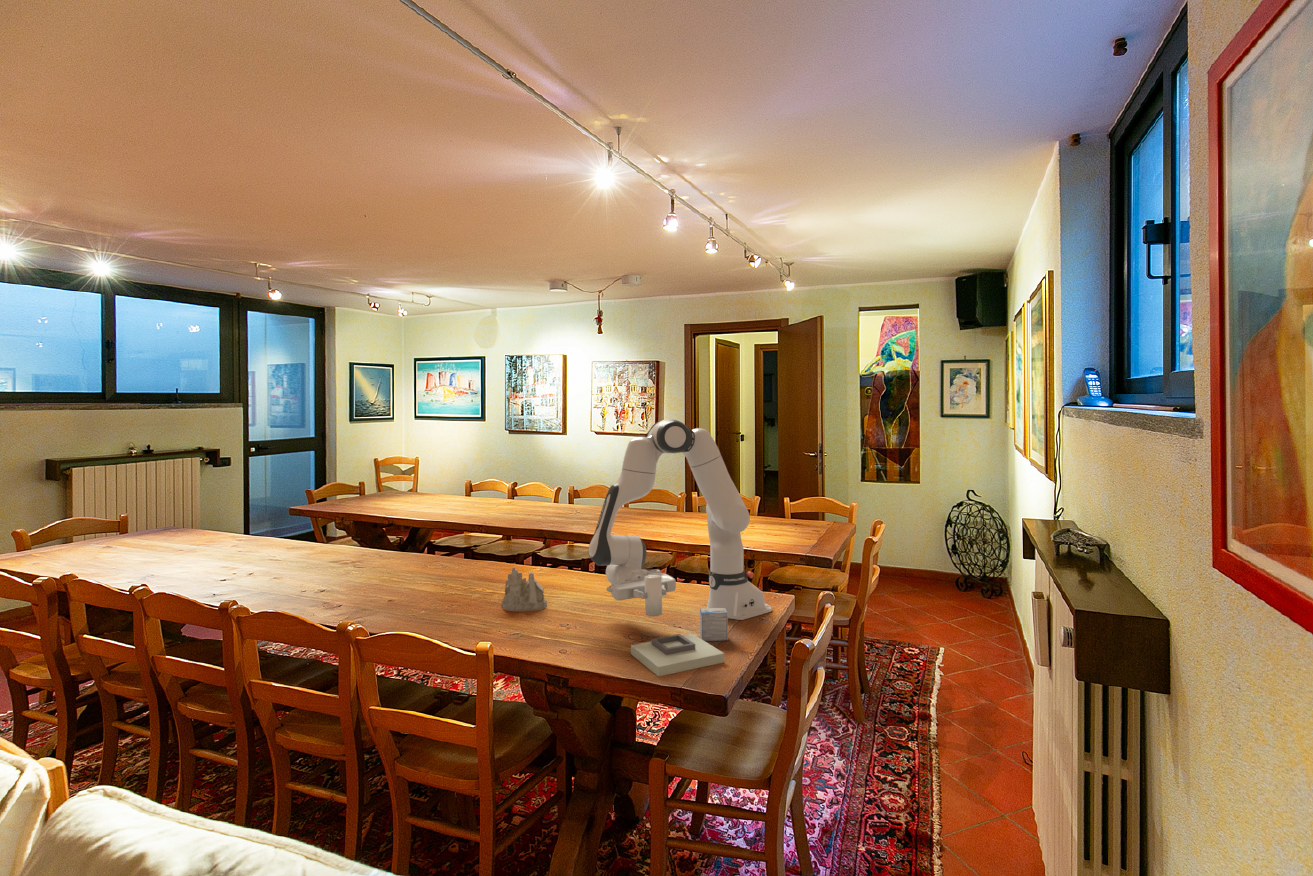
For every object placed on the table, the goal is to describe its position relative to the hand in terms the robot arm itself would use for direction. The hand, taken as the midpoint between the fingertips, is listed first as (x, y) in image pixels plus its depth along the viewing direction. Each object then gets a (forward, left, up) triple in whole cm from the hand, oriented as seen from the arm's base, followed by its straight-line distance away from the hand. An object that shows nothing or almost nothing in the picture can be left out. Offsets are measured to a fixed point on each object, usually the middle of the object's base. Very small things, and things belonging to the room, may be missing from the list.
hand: (654, 594), depth 190 cm
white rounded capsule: (0, -1, -6) cm, 6 cm away
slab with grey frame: (0, +14, -14) cm, 20 cm away
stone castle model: (+24, -53, -15) cm, 60 cm away
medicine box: (-17, +6, -14) cm, 23 cm away
